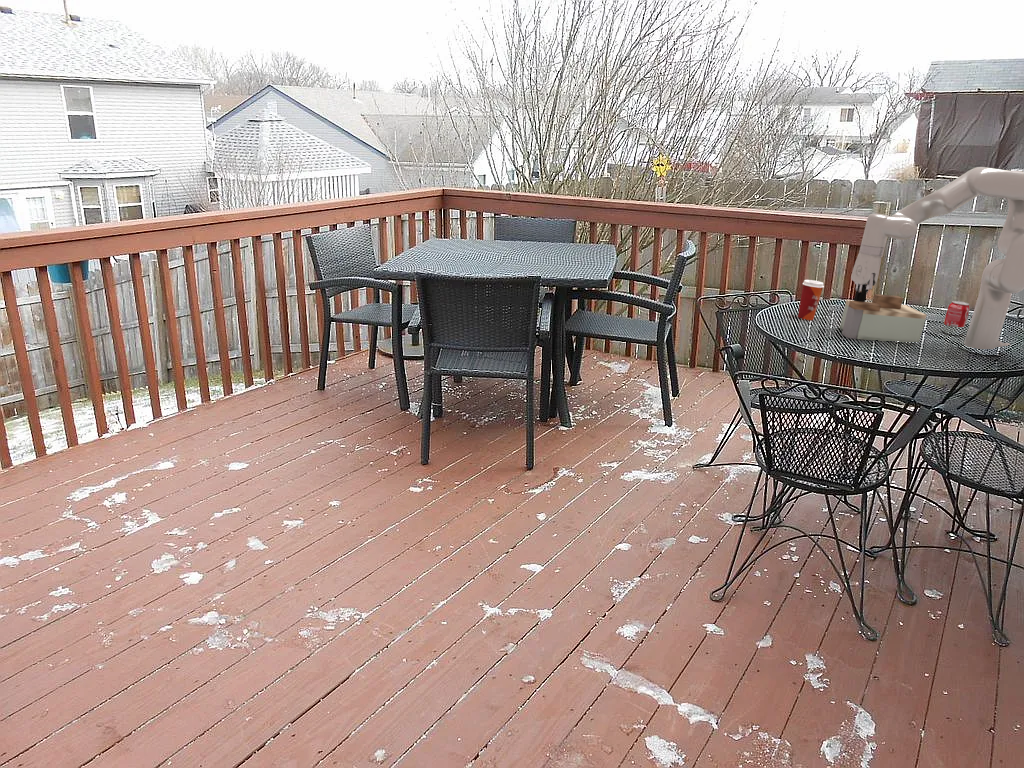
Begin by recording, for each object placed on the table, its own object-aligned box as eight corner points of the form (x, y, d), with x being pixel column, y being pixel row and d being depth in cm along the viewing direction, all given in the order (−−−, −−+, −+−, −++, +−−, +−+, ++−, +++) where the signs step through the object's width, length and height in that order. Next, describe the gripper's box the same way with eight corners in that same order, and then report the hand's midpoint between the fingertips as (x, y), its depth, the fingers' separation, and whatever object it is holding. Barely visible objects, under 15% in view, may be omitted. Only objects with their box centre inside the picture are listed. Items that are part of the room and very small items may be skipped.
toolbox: (898, 333, 280) (905, 305, 277) (918, 344, 267) (926, 314, 263) (831, 327, 279) (838, 299, 275) (848, 338, 265) (855, 308, 262)
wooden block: (873, 308, 265) (875, 302, 264) (879, 311, 261) (880, 305, 260) (848, 306, 264) (849, 300, 263) (853, 309, 260) (855, 303, 260)
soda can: (957, 332, 290) (966, 301, 286) (965, 337, 284) (975, 305, 280) (937, 330, 291) (946, 299, 287) (945, 335, 284) (955, 303, 280)
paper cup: (812, 322, 284) (821, 284, 279) (792, 317, 288) (800, 280, 284) (819, 319, 290) (827, 282, 285) (798, 314, 294) (806, 278, 290)
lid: (904, 309, 277) (908, 294, 275) (925, 319, 264) (929, 303, 262) (845, 304, 276) (849, 288, 274) (863, 313, 263) (867, 298, 261)
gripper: (851, 246, 269) (839, 297, 275) (871, 253, 255) (857, 307, 261) (872, 248, 270) (859, 299, 276) (893, 255, 255) (879, 309, 262)
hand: (858, 303), depth 268 cm, fingers closed
